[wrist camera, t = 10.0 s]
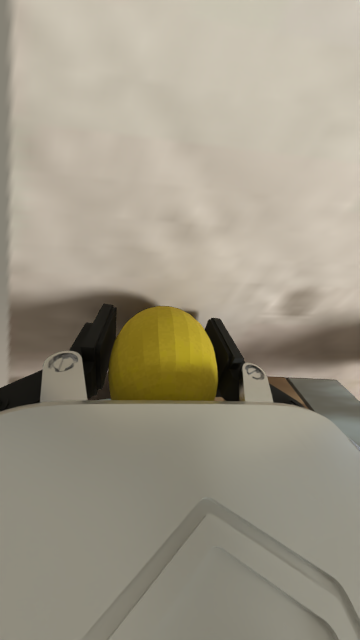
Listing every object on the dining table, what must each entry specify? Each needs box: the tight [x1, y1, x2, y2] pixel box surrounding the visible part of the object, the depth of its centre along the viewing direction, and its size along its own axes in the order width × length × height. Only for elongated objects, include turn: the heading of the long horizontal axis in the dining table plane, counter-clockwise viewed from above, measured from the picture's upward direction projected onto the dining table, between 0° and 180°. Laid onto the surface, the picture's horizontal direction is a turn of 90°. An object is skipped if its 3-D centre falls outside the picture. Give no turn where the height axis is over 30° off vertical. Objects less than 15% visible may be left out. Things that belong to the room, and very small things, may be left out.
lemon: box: [108, 306, 218, 401], centre depth 9 cm, size 6×6×8 cm
